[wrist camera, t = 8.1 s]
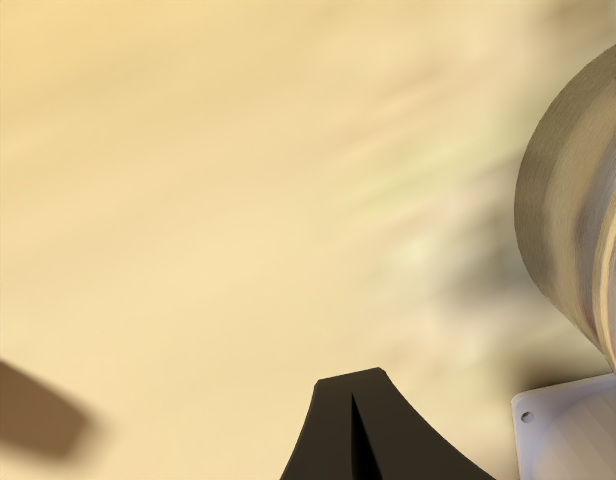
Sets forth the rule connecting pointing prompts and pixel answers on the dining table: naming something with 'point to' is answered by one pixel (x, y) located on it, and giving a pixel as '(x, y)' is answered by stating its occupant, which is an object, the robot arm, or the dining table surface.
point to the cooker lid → (606, 285)
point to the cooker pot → (569, 190)
